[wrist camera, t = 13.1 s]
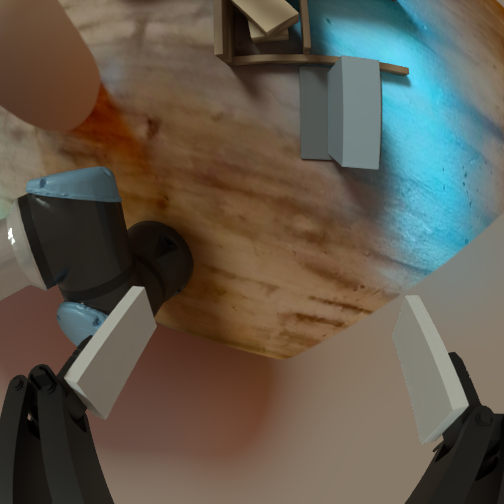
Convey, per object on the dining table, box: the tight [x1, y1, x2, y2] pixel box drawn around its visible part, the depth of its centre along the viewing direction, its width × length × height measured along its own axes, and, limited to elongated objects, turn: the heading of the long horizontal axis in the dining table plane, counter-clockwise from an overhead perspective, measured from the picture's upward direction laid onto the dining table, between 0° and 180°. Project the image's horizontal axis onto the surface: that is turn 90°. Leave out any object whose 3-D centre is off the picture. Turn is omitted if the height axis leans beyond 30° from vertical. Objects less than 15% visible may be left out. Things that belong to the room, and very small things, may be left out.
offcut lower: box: [247, 18, 289, 44], centre depth 27 cm, size 5×8×4 cm, turn 9°
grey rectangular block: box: [327, 56, 381, 170], centre depth 28 cm, size 4×12×12 cm, turn 2°
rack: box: [213, 0, 409, 76], centre depth 24 cm, size 26×15×8 cm, turn 92°
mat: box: [299, 66, 382, 164], centre depth 34 cm, size 12×14×1 cm
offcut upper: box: [230, 0, 299, 39], centre depth 24 cm, size 5×8×4 cm, turn 38°
